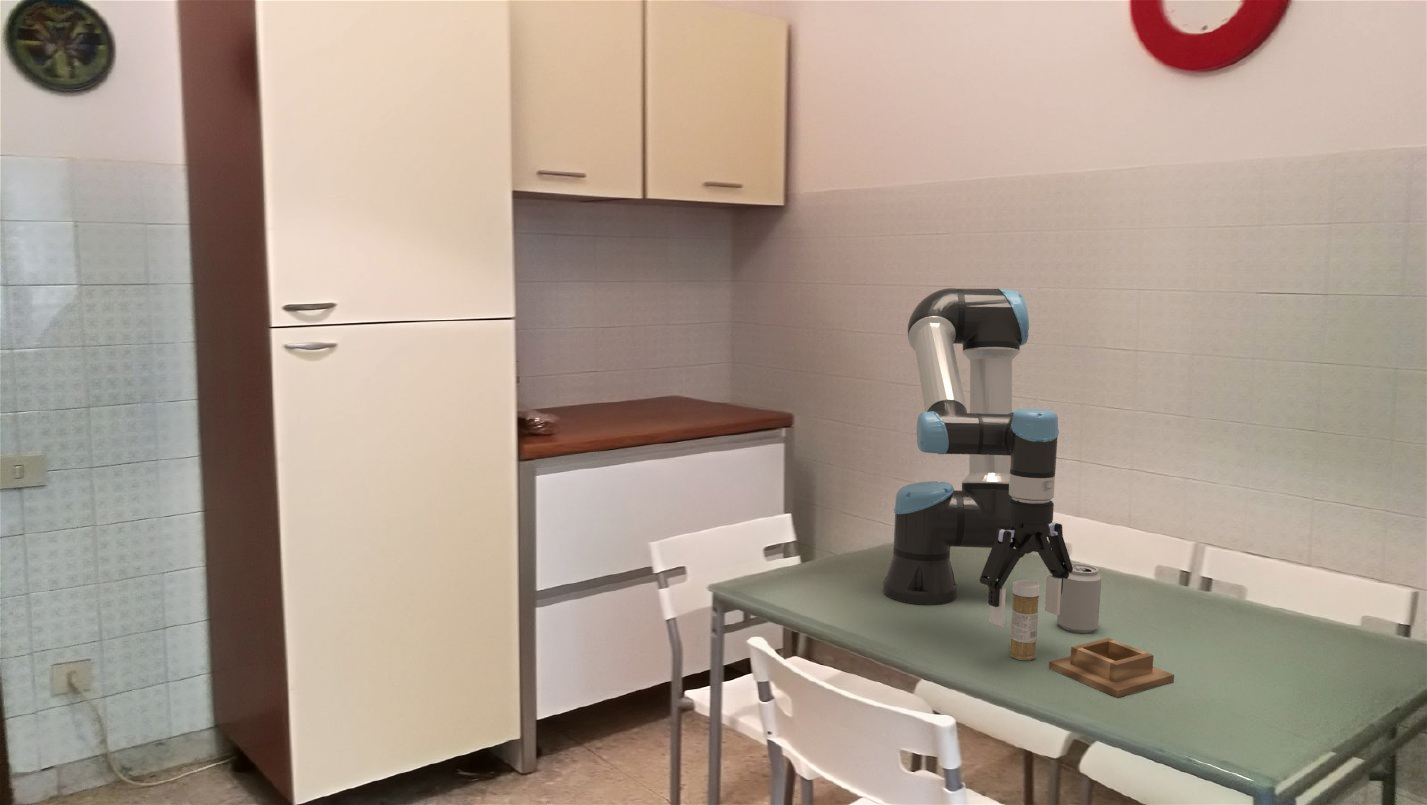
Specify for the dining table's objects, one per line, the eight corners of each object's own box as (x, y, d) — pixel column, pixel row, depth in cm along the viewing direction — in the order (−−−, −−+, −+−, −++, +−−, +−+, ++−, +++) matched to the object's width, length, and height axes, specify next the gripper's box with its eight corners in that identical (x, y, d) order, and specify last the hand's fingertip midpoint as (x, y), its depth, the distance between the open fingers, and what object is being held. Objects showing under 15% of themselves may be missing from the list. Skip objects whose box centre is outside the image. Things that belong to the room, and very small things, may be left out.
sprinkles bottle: (1023, 650, 185) (1027, 577, 183) (1041, 659, 181) (1045, 584, 179) (1003, 654, 183) (1007, 580, 181) (1021, 663, 179) (1025, 587, 177)
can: (1101, 635, 193) (1105, 573, 192) (1059, 632, 195) (1063, 570, 193) (1094, 622, 200) (1098, 562, 199) (1054, 619, 202) (1058, 559, 200)
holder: (1048, 668, 177) (1050, 644, 176) (1104, 654, 184) (1105, 631, 183) (1117, 697, 165) (1118, 672, 164) (1173, 681, 172) (1175, 657, 171)
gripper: (994, 509, 169) (988, 635, 171) (1098, 496, 181) (1091, 613, 184) (961, 501, 175) (956, 622, 178) (1064, 489, 188) (1057, 602, 190)
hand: (1024, 618), depth 181 cm, fingers open, 13 cm apart
